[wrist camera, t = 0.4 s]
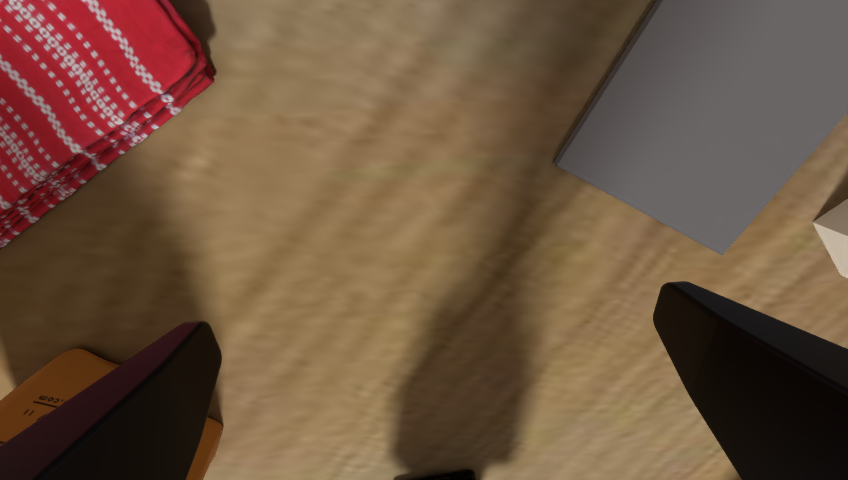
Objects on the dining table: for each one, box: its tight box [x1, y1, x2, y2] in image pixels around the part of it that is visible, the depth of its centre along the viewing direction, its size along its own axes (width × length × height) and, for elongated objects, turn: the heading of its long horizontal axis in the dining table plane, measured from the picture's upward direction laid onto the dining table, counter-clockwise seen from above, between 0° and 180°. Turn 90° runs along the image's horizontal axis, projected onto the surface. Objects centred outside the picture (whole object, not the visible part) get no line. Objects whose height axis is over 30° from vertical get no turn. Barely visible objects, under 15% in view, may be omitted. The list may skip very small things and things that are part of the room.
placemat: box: [553, 0, 848, 255], centre depth 19 cm, size 20×12×1 cm, turn 153°
